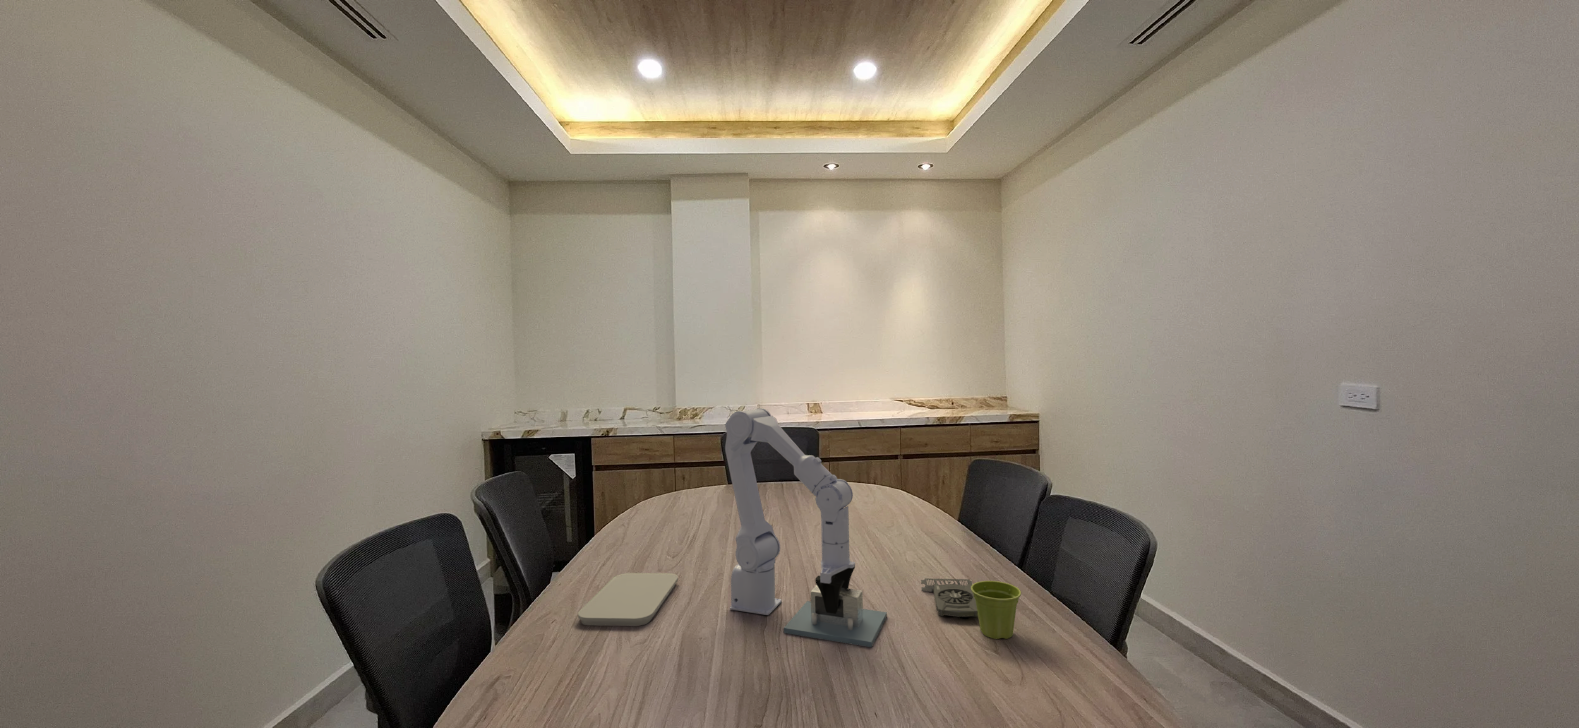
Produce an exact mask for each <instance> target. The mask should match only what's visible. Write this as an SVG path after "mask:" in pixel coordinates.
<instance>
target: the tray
mask: <svg viewBox="0 0 1579 728" xmlns="http://www.w3.org/2000/svg"><path fill="white" fill-rule="evenodd" d="M887 616H888V612H887V611H881V610H880V611H879V610H874V609H866V608H863V620H862V622H861V624H860V625H859V627H858V628H857V627H853V619H852V618H848V626H844V625H838V624H831V623H825V622H818V621H817V614H816V613H812V620H811V600H810V601H809V600H807V601H805V603H804V604H803V605H802V606H801V607H800V608H799V610H798V611H797V612H796V613H795V614H794V615H793V616H792V617H791V619H790V620H789V621H788V623H786V625H785V626H784V627H783V633H784V634H787V635H788V634H789V635H796V636H802V637H808V638H813V639H820V640H823V641H824V640H825V641H830V642H838V643H845V644H850V645H857V646H862V647H868V648H872V647H873V646H874V643H875V642H876V639H877V638H878V635H879V634H880V631H881V629H882V628H883V626H884V623H885V621H886V619H887Z"/></svg>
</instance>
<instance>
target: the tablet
mask: <svg viewBox="0 0 1579 728" xmlns="http://www.w3.org/2000/svg"><path fill="white" fill-rule="evenodd" d="M678 581H679V576H678V575H677V574H675V573H671V572H670V573H669V572H667V573H666V572H660V573H659V572H626V573H625V572H624V573H621V574H617V575H615V576H614V577H612V578H611V579H610V580H609V581H608V582H607V583H606V584H605V585H604V586H603V587H602V588H601V589H600V590H599V591H598V592H596V594H595V595H594V596H593V597H592V598H591V599H590V600H589V601H588V602H587V603H586V604H585V605H584V606H583V607H582V608H581V609H580V610H578V612H577V618H578V619H579V620H581V624H582V625H585V626H617V627H618V626H620V627H621V626H622V627H638V626H643V625H644V626H645V625H646V624H648V623H650V622H651V620H652V619H653V618H654V616H655V615H656V614H657V612H658V611H659V609H660V608H661V606H662V605H663V604H664V602H665V601H666V599H667V597H668V596H669V595H670V594H671V592H672V591H673V589H674V587H676V584H677V582H678Z"/></svg>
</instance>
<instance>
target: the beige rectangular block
mask: <svg viewBox="0 0 1579 728" xmlns="http://www.w3.org/2000/svg"><path fill="white" fill-rule="evenodd" d="M863 595H864V594H863V590H861V589H854V588H849V587H848V588H841V591H840V595H839V603H838V610H837V613H836V614H833V613H827V612H826V609H825V606H824V601H823V598H822V594H821V592H820V590H819V588H818V586H817V585H814V587H813V588H812V589H811V591H810V601H811V620H812V613H816V614H817V621H818V622H825V623H831V624H838V625H844V626H848V618H852V619H853V627H857V628H858V627H859V625H860V624H861V622H862V620H863V609H864V605H863V602H864V601H863V599H864V598H863V597H864V596H863Z"/></svg>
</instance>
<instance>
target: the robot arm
mask: <svg viewBox="0 0 1579 728" xmlns="http://www.w3.org/2000/svg"><path fill="white" fill-rule="evenodd" d="M724 425H725V426H724V428H725V431H726V440H725V446H724V449H725V455H726V459H727V466H728V469H729V474H730V479H731V484H732V489H733V493H734V498H735V499H734V500H735V503H736V507H737V512H738V517H739V521H740V527H739V530H738V532H737V533H736V536H735V542H736V549H735V559H736V563H737V564H735V566H734V567H733V569H732V572H731V576H730V577H731V578H730V599H731V600H730V603H731V604H730V607H729V609H730V610H732V611H739V612H744V613H752V614H757V615H765V616H770V614H771V613H772V612H773V611H774V610H775V609H776V608H777V607H778V606H779V605H780V604H781V603H782V601H783V600H782V599H781V598H776V577H775V575H776V573H775V572H776V570H775V568H776V567H775V564H776V558H777V557H778V555H779V554H780V552H781V544H780V540H779V538H778V537H777V536H776V533H775V532H774V528H773V525H772V524H770V523H769V522H768V521H767V520H766V519H765V513H764V511H763V505H762V501H761V500H762V499H761V496H760V491H759V487H758V482H757V477H756V473H755V469H754V463H753V459H752V454H751V452H752V451H753V449H754V447H755V446H756V444H757V443H758V442H760V443H761V442H762V443H768V444H769V445H770V446H771V447H772V448H773V449H774V450H775V451H777V453H779V454H780V455H781V456H782V457H783V458H784V459H785V460H786V461H787V462H789V464H790V465H792V467H793V475H794V476H795V477H796V478H797V479H798V481H800V482H801V483H802V484H803V485H804V487H806V488H807V490H808V491H810V492H811V494H813V496H814V498H815V504H816V506H817V508H818V509H819V511H820V520H821V521H820V522H821V523H820V525H821V529H820V530H821V532H820V533H821V560H820V568H821V572H819V573H820V574H818V575H817V576H816V577H815V579H814V582H815V584H816V585H817V586H818V588H819V590H820V592H821V594H822V598H823V601H824V606H825V609H826V612H827V613H833V614H836V613H837V610H838V603H839V595H840V591H841V588H848V589H849V587H850V581H851V578H852V575H853V573H854V571H855V568H856V562H855V561H851V559H850V555H851V554H850V519H849V517H850V516H849V515H850V514H849V512H850V511H849V505H850V504H851V502H853V497H854V493H853V489H852V487H851V486H850V484H849V483H848V482H847V481H846V480H845V479H843V478H842V479H841V478H838V477H837V476H836V474H832V473H831V472H830V470H828V468H826V467H825V466H824V465H823V464H822V460H821V458H820V457H819V456H817V457H816V456H814V455H812V454H811V455H810V454H809V455H808V454H805V453H804V452H803V450H801V449H800V448H799V446H798V445H797V444H796V443H795V442H794V441H793V440H792V438H791V437H790V436H789V434H787V433H786V431H785V430H784V428H782V427H781V426H780V425H779V422H778V420H777V418H776V417H774V416H773V415H772V414H771V413H770V412H769V410H768V409H766V408H762V407H761V408H760V407H759V408H755V409H750V410H749V409H748V410H737V411H734V412H733V413H731V415H730V416H729V418H728V419H727V421H725V424H724ZM816 585H815V586H816Z"/></svg>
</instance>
